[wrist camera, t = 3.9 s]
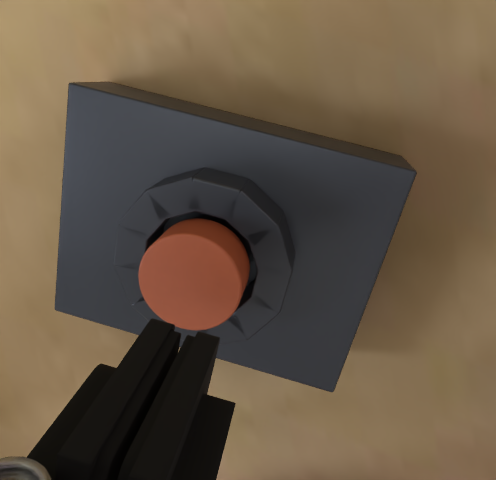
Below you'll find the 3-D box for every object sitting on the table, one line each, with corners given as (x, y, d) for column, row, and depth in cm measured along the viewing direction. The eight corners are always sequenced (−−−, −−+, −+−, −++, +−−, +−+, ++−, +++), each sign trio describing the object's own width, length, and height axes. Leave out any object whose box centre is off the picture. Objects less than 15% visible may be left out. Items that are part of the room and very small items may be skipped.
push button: (260, 232, 15) (252, 250, 14) (238, 318, 17) (229, 343, 15) (163, 206, 16) (144, 221, 14) (149, 292, 17) (131, 314, 15)
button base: (402, 156, 18) (429, 183, 13) (332, 350, 22) (334, 424, 17) (108, 81, 19) (38, 82, 14) (89, 280, 23) (28, 331, 18)
